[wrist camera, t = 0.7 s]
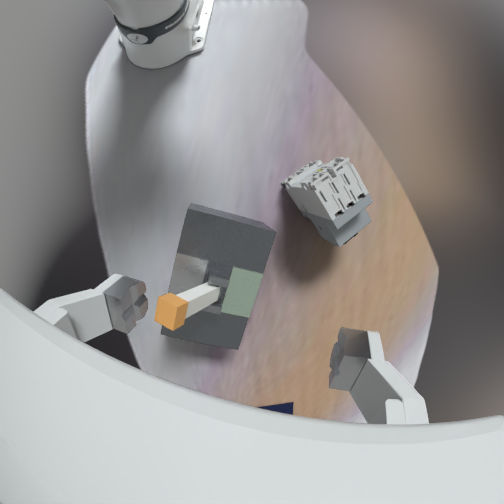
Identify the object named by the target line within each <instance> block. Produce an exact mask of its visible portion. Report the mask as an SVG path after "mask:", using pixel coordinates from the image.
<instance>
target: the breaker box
mask: <svg viewBox="0 0 504 504" xmlns="http://www.w3.org/2000/svg"><path fill="white" fill-rule="evenodd" d="M275 234H276V232H275V231H274V230H273V229H271V228H270V227H268V226H267V225H266V224H264V223H263V222H259V221H255V220H252V219H248V218H245V217H241V216H237V215H234V214H230V213H226V212H223V211H219V210H215V209H212V208H208V207H204V206H200V205H196V204H192V203H191V205H190V206H189V208H188V210H187V214H186V218H185V222H184V225H183V229H182V233H181V238H180V242H179V246H178V250H177V254H176V259H175V263H174V268H173V272H172V277H171V282H170V286H169V291H168V293H172V294H174V295H177V294H180V293H182V292H184V291H187V290H189V289H192V288H194V287H197V286H199V285H202V284H204V283H207V282H208V284H212V285H217V286H221V287H223V289H222V292H221V296H220V300H219V301H216V302H214V303H212V304H211V305H209V306H207V307H205V308H204V309H202V310H200V311H198V312H196V313H195V314H193V315H191V316H189V317H188V318H186V319H185V321H184V325H182V326H180V327H179V328H177V329H175V330H174V331H172V330H170V329H168V328H166V327H165V326H163V325H162V330H161V334H162V335H166V336H170V337H175V338H179V339H184V340H188V341H193V342H198V343H203V344H208V345H213V346H219V347H225V348H230V349H236V350H238V348H239V345H240V342H241V339H242V336H243V333H244V330H245V327H246V324H247V321H248V318H249V317H250V314H251V311H252V308H253V305H254V302H255V299H256V295H257V292H258V289H259V286H260V283H261V280H262V277H263V272H264V269H265V266H266V263H267V259H268V256H269V253H270V250H271V247H272V244H273V240H274V237H275Z"/></svg>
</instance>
